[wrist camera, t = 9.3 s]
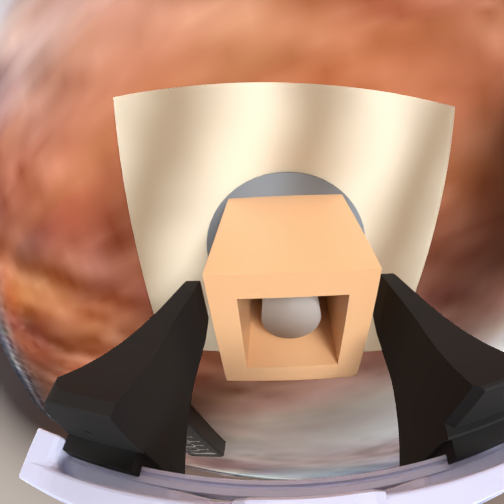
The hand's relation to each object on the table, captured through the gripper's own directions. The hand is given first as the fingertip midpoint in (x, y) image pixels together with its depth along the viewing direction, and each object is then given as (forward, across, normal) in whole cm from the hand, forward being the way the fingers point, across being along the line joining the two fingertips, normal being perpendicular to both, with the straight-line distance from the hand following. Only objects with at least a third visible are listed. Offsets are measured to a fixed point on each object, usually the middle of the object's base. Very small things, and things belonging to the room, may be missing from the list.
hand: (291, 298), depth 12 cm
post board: (+5, 0, 0) cm, 5 cm away
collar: (+4, 0, 0) cm, 4 cm away
